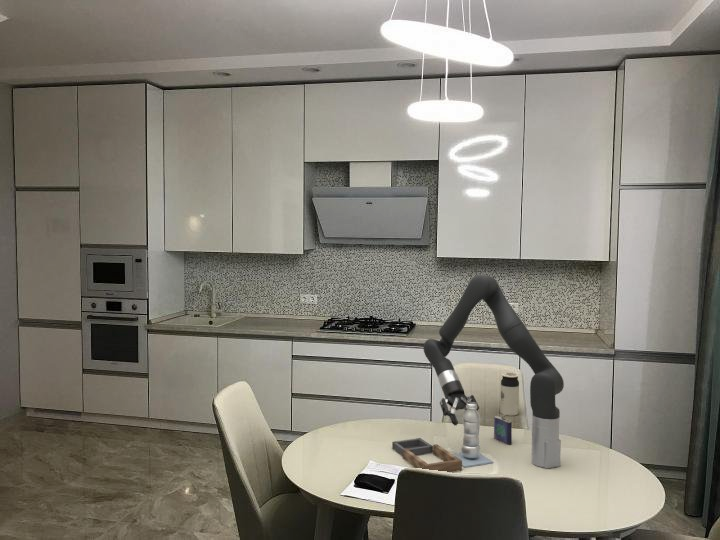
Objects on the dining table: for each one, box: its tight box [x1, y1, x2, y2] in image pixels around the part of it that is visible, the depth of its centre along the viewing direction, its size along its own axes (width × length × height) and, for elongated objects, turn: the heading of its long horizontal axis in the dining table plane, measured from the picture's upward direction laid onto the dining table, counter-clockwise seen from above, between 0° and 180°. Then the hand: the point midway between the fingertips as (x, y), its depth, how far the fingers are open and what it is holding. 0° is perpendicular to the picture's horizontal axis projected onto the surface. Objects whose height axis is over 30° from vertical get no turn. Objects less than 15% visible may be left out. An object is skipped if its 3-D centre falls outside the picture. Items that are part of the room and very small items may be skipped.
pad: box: [452, 451, 494, 469], centre depth 221 cm, size 12×12×1 cm
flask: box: [493, 414, 513, 446], centre depth 240 cm, size 9×3×11 cm, turn 28°
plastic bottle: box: [461, 401, 482, 459], centre depth 221 cm, size 6×7×20 cm
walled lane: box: [402, 443, 463, 473], centre depth 216 cm, size 18×14×4 cm
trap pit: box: [391, 437, 433, 457], centre depth 230 cm, size 10×12×2 cm
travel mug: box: [500, 372, 520, 417], centre depth 277 cm, size 8×8×18 cm
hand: (466, 423), depth 222 cm, fingers open, 8 cm apart
